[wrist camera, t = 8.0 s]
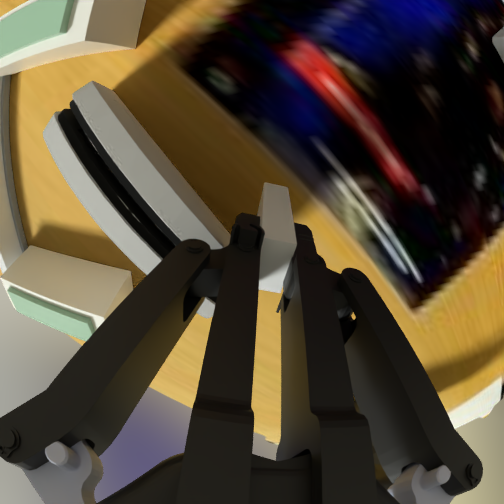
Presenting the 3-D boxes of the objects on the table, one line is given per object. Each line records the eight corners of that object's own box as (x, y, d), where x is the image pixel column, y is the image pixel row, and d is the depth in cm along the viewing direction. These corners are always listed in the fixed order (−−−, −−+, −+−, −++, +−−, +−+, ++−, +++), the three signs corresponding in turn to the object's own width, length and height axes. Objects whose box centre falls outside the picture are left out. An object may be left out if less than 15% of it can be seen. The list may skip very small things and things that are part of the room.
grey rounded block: (74, 134, 16) (1, 133, 7) (117, 92, 16) (66, 57, 7) (199, 279, 24) (211, 360, 14) (242, 246, 23) (278, 313, 14)
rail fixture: (135, 304, 26) (111, 354, 20) (27, 270, 25) (-2, 304, 20) (147, -5, 10) (97, -33, 5) (6, 38, 10) (-43, 46, 4)
